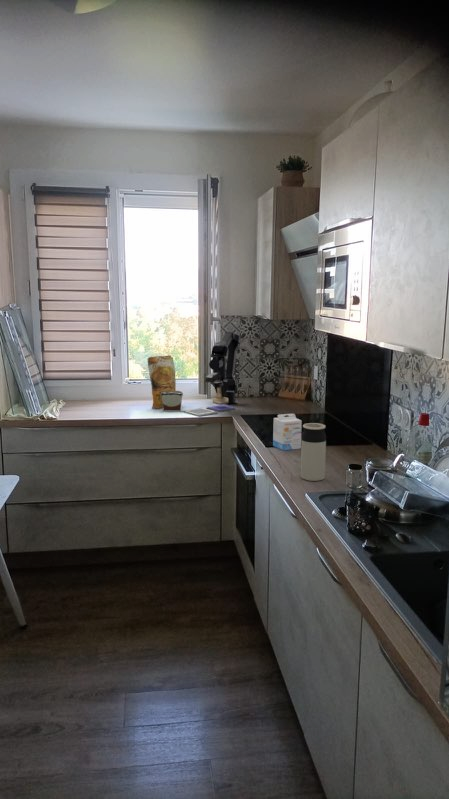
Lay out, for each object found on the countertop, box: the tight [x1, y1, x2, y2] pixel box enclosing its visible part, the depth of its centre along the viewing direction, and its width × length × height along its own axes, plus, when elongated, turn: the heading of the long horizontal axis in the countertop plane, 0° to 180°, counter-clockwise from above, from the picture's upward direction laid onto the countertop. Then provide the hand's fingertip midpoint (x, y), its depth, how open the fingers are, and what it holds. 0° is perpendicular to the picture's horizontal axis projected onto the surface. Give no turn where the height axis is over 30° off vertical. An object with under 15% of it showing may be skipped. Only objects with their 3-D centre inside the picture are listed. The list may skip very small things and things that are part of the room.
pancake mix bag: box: [147, 354, 177, 409], centre depth 302 cm, size 7×19×28 cm, turn 133°
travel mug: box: [300, 422, 327, 482], centre depth 182 cm, size 8×8×18 cm
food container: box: [160, 390, 184, 412], centre depth 295 cm, size 12×6×10 cm, turn 84°
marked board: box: [181, 407, 219, 417], centre depth 288 cm, size 12×15×1 cm
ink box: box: [272, 413, 303, 451], centre depth 220 cm, size 9×8×13 cm
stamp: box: [212, 387, 228, 405], centre depth 295 cm, size 6×6×9 cm
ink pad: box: [205, 404, 236, 413], centre depth 296 cm, size 11×11×1 cm
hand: (220, 396), depth 295 cm, fingers closed on stamp, 4 cm apart
